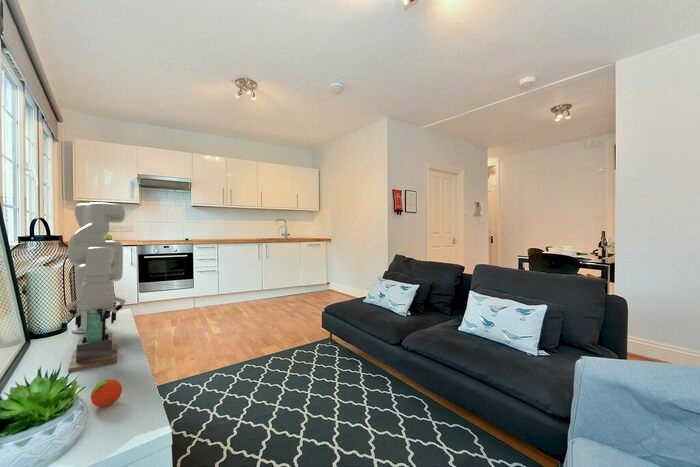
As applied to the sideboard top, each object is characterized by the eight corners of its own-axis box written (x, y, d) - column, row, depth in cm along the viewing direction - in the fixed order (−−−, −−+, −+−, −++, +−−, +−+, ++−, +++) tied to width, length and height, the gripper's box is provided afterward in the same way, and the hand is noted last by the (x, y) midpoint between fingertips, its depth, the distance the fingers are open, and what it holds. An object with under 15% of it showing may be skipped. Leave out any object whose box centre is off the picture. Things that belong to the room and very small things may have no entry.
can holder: (74, 352, 119) (75, 333, 119) (116, 345, 126) (117, 328, 126) (68, 372, 103) (68, 350, 103) (116, 363, 111) (117, 343, 111)
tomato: (100, 416, 80) (101, 389, 80) (78, 412, 81) (79, 386, 81) (127, 400, 88) (128, 375, 88) (107, 397, 89) (108, 372, 89)
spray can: (108, 352, 117) (110, 300, 117) (94, 357, 112) (97, 303, 112) (95, 350, 118) (97, 299, 118) (81, 356, 112) (83, 302, 112)
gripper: (126, 276, 123) (124, 318, 123) (68, 279, 112) (66, 325, 112) (126, 279, 117) (124, 323, 117) (65, 282, 106) (63, 331, 106)
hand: (96, 324), depth 115 cm, fingers open, 9 cm apart
